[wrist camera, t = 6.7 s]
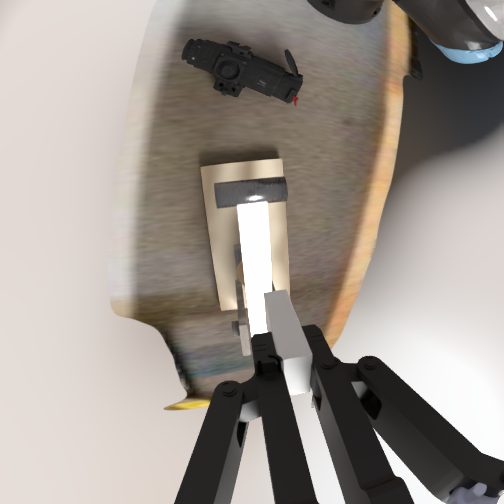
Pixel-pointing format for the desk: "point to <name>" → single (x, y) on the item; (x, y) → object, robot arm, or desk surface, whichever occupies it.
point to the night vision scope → (243, 69)
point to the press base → (228, 238)
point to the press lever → (253, 235)
